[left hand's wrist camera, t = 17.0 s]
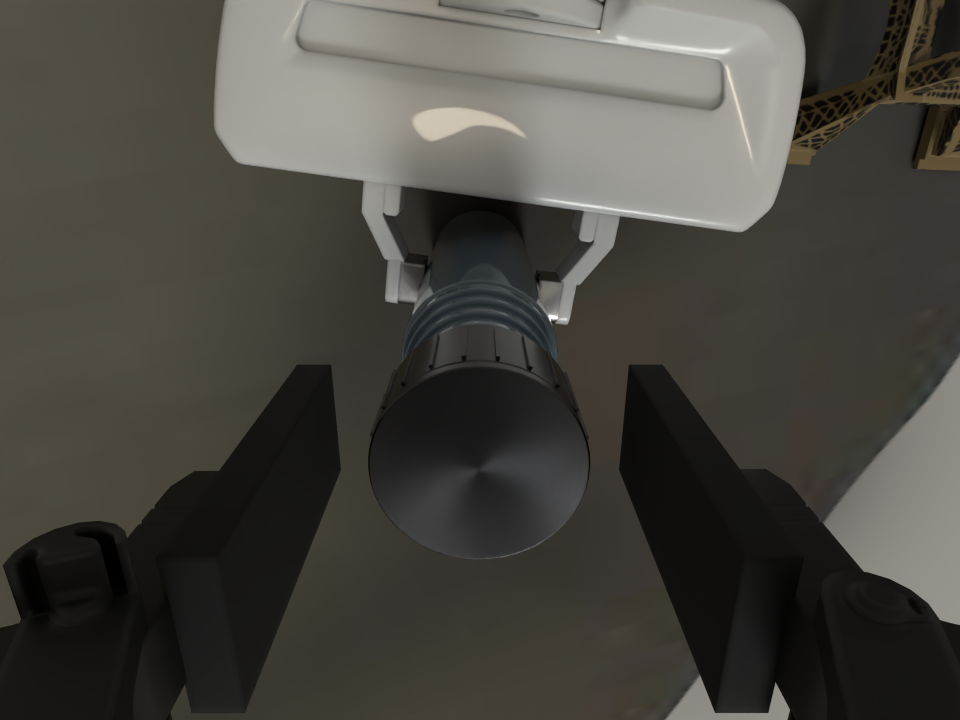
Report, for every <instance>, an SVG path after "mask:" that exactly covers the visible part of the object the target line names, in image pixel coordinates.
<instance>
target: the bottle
mask: <svg viewBox="0 0 960 720" xmlns="http://www.w3.org/2000/svg"><path fill="white" fill-rule="evenodd" d="M466 325H467V326H468V327H469V326H491V327H494V326H498V328H503V329H506V330H509V331H513V332H516V333H518V334H520V335H523V334H524V335H526V336H527V338H529V339H530V340H532V341H533V342H535V343H537V344H538V345H539V346H541V347H542V348H543V349H544V350H546V351H549V352H550V353H551V356H552V358H553V359H554V360H555V361H556V362H557V364H558V348H557V340H556V336H555V332H554V329H553V326H552V323H551V320H550V317H549V315H548V312H547V309H546V306H545V303H544V300H543V297H542V294H541V291H540V288H539V286H538V283H537V280H536V277H535V274H534V271H533V268H532V265H531V262H530V260H529V257H528V254H527V251H526V248H525V245H524V242H523V240H522V237H521V235H520V233H519V232H518V230H517V229H516V227H515V226H514V225H513V224H512V223H511V222H510V221H509V220H507V219H506V218H505V217H503V216H501V215H499V214H496V213H494V212H490V211H483V210H477V211H470V212H466V213H463V214H461V215H459V216H457V217H455V218H454V219H452V220H451V221H450V222H449V223H448V224H447V225H446V226H445V227H444V228H443V230H442V231H441V233H440V235H439V237H438V239H437V242H436V245H435V247H434V250H433V253H432V256H431V259H430V262H429V264H428V267H427V270H426V273H425V276H424V279H423V281H422V284H421V287H420V290H419V293H418V296H417V298H416V301H415V304H414V307H413V310H412V313H411V315H410V318H409V321H408V324H407V327H406V330H405V333H404V336H403V341H402V352H401V363H402V362H403V361H404V359H405V358H406V357H407V356H408V355H409V353H410V350H411V349H415V348H417V347H418V346H419V345H421V344H422V343H424V342H425V341H427V340H428V339H430V338H432V337H434V335H435V334H437V333H438V334H440V333H443V332H446V331H449V330H452V329H457V328H461V327H464V326H466Z"/></svg>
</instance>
